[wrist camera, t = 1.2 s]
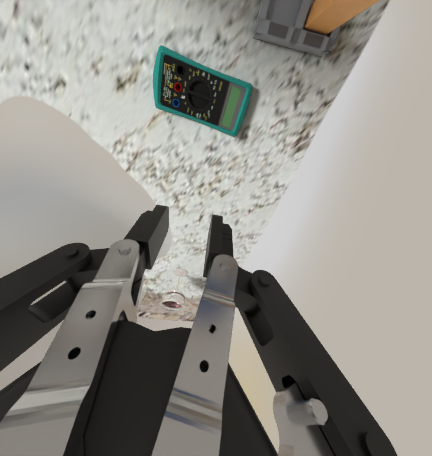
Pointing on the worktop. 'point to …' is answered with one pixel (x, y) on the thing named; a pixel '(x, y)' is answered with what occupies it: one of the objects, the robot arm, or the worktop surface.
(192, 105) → the digital multimeter
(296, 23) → the gray tray
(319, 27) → the tab orange
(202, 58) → the worktop surface
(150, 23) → the worktop surface
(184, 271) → the wineglass
